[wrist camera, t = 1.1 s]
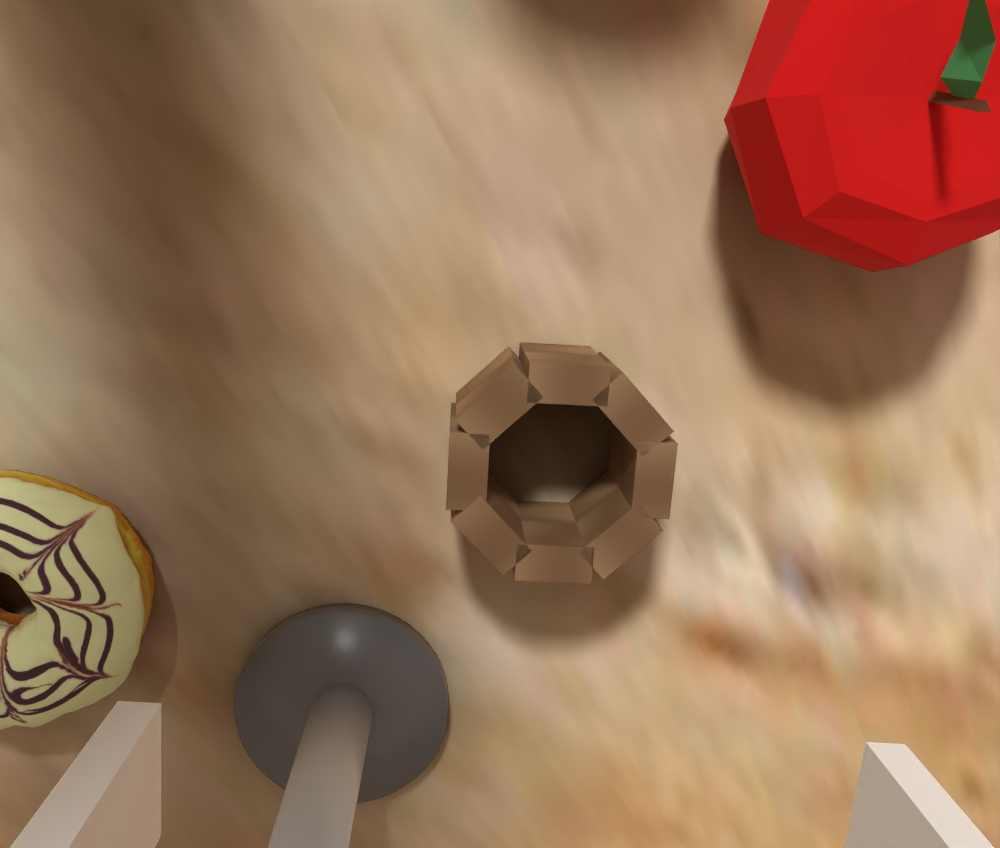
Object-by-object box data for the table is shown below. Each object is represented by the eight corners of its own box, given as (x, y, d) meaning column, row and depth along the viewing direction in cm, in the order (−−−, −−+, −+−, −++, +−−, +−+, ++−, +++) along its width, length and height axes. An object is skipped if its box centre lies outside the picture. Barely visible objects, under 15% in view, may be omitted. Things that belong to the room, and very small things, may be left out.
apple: (950, 265, 34) (1147, 282, 24) (687, 265, 33) (780, 282, 24) (986, -26, 31) (1221, -138, 22) (702, -30, 31) (812, -147, 21)
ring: (454, 338, 34) (453, 358, 29) (653, 349, 34) (685, 370, 29) (445, 529, 35) (442, 578, 30) (634, 537, 36) (661, 586, 31)
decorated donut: (179, 683, 37) (148, 735, 33) (-73, 698, 36) (-133, 751, 33) (147, 452, 34) (110, 480, 31) (-125, 464, 34) (-196, 494, 30)
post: (239, 599, 36) (156, 740, 26) (453, 607, 36) (450, 747, 26) (241, 786, 38) (164, 981, 28) (443, 791, 38) (437, 985, 28)
